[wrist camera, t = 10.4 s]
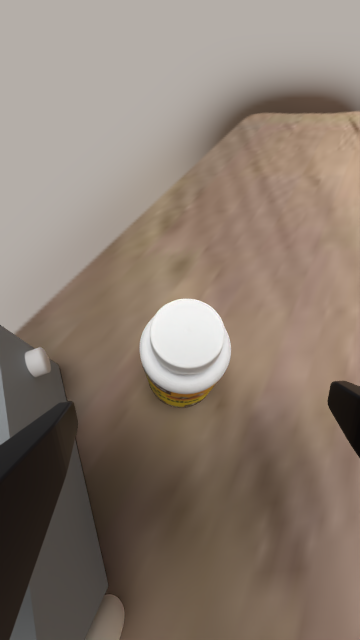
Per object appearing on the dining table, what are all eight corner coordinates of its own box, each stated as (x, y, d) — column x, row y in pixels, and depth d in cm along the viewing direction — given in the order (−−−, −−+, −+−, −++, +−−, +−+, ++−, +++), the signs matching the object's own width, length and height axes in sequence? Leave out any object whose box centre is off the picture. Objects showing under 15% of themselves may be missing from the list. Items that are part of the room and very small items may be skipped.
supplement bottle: (137, 392, 22) (113, 356, 13) (165, 336, 24) (161, 271, 15) (199, 420, 21) (220, 403, 12) (221, 359, 23) (254, 306, 14)
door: (120, 579, 17) (72, 708, 9) (77, 602, 16) (-18, 764, 8) (67, 361, 23) (9, 316, 15) (34, 373, 22) (-46, 333, 14)
